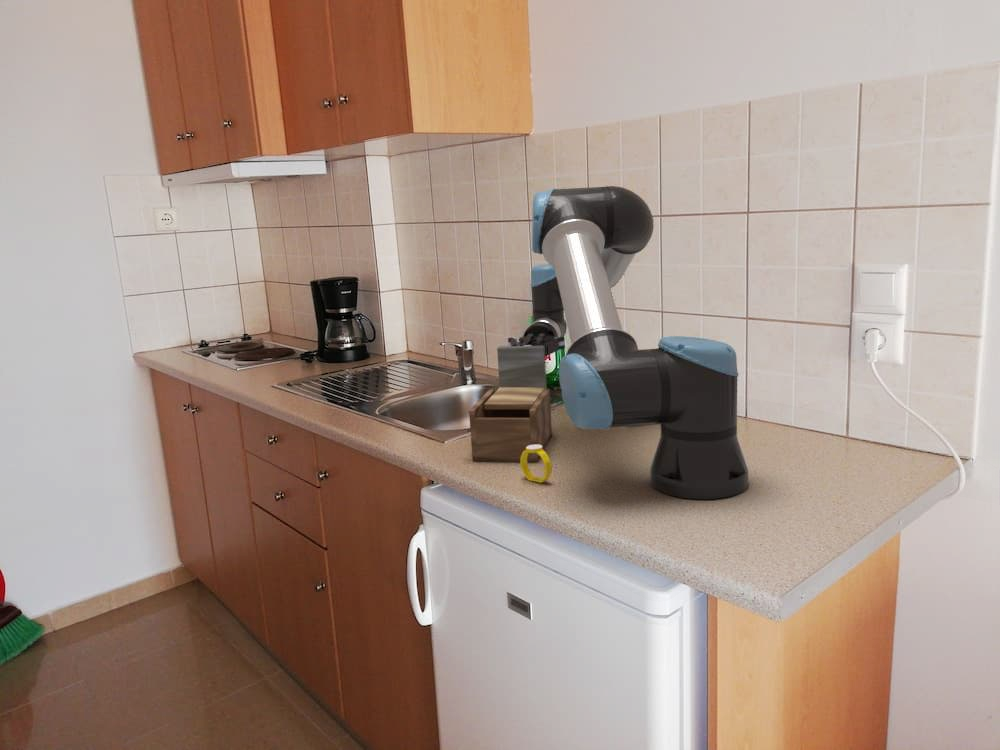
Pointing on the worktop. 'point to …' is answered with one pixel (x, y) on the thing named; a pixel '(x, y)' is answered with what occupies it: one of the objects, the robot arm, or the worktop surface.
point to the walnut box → (509, 430)
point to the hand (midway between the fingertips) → (522, 357)
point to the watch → (544, 457)
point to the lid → (519, 377)
